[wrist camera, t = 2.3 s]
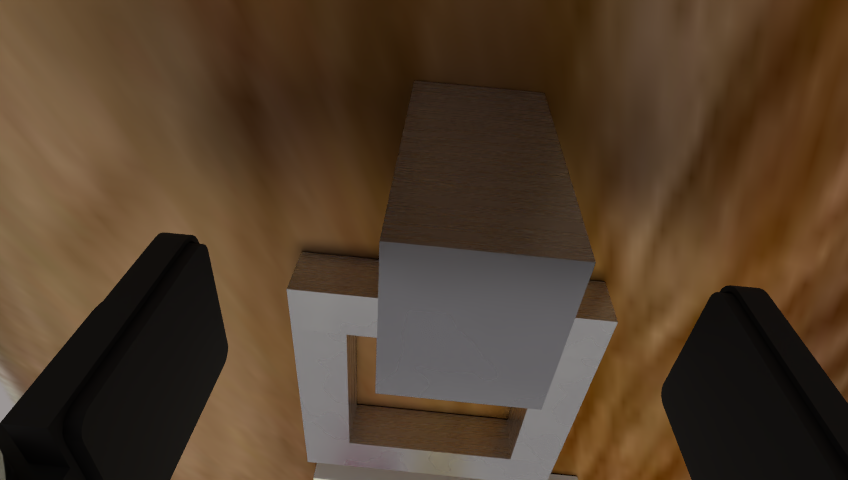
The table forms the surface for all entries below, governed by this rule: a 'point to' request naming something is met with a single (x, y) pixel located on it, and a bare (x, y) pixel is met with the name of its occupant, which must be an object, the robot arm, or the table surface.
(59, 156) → the table surface
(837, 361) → the table surface
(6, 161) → the table surface
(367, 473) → the keeper plate
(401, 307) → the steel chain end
